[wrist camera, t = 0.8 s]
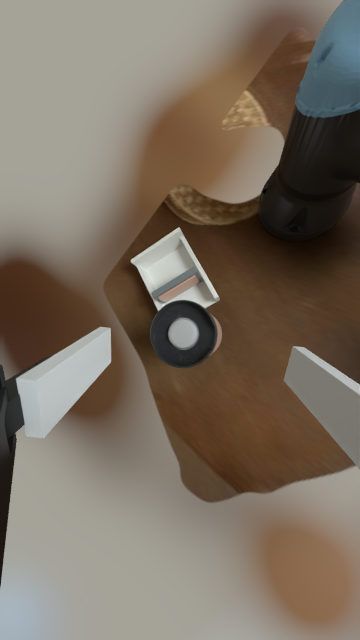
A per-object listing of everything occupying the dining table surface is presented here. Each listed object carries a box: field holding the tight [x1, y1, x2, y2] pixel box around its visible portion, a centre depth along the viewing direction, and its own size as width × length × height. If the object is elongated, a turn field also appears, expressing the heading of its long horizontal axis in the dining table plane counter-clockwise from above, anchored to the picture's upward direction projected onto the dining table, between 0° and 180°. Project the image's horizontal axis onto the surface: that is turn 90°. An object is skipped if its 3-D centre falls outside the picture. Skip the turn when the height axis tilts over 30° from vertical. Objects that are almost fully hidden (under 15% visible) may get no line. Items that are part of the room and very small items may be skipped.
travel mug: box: [150, 300, 223, 368], centre depth 29 cm, size 8×8×20 cm
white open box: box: [131, 227, 220, 311], centre depth 39 cm, size 12×16×6 cm
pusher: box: [151, 267, 202, 303], centre depth 37 cm, size 10×2×6 cm, turn 117°
